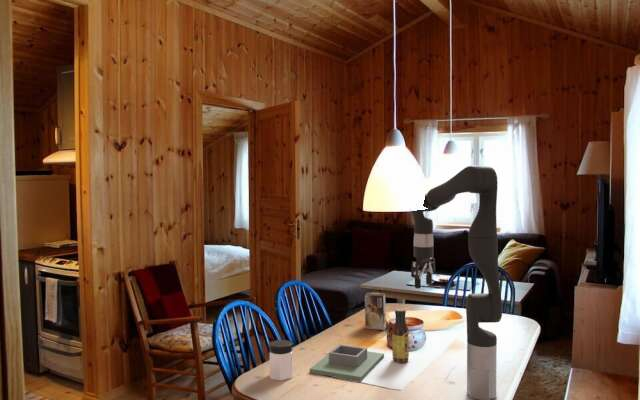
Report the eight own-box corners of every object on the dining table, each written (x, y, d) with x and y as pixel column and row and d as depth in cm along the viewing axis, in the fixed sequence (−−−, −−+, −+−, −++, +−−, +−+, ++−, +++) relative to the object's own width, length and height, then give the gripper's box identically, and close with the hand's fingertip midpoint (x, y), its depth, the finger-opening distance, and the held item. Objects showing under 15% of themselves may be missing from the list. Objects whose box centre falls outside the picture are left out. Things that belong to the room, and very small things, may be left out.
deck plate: (361, 381, 186) (361, 365, 185) (309, 372, 194) (309, 357, 194) (384, 357, 209) (383, 343, 209) (337, 350, 217) (337, 337, 217)
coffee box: (386, 326, 251) (386, 292, 250) (384, 330, 245) (384, 295, 244) (367, 325, 254) (367, 291, 253) (364, 328, 248) (364, 294, 247)
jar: (264, 377, 190) (263, 344, 189) (277, 370, 197) (276, 338, 196) (285, 382, 185) (284, 348, 185) (297, 374, 192) (297, 342, 192)
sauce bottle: (408, 364, 201) (408, 312, 200) (391, 363, 203) (391, 311, 202) (409, 358, 208) (408, 308, 207) (393, 357, 209) (392, 307, 208)
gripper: (422, 247, 197) (422, 291, 198) (441, 243, 208) (441, 284, 209) (405, 246, 202) (405, 288, 203) (424, 242, 213) (424, 282, 214)
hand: (423, 286), depth 206 cm, fingers open, 8 cm apart
